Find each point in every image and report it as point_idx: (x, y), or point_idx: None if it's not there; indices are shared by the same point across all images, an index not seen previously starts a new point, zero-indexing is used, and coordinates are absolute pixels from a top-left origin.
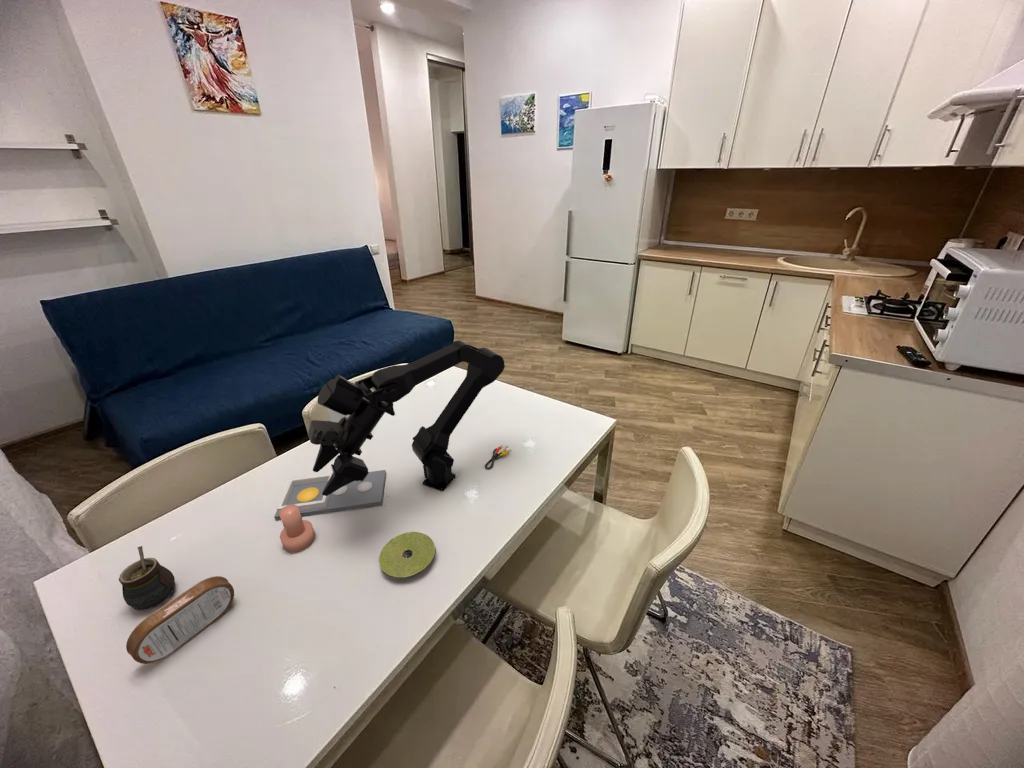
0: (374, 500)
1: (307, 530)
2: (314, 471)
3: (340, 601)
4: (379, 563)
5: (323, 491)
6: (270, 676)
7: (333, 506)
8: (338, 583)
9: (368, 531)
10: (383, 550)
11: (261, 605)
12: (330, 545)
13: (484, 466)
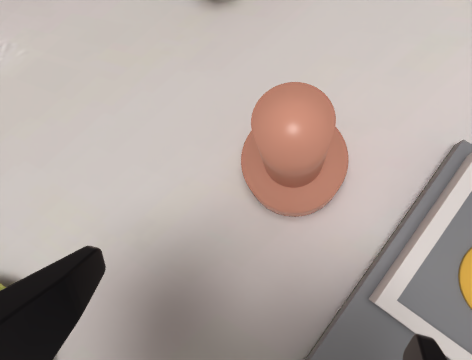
0: None
1: (266, 187)
2: (411, 340)
3: (36, 168)
4: (2, 285)
5: (72, 258)
6: (20, 23)
7: (350, 321)
8: (77, 186)
9: (160, 342)
10: None
11: (165, 41)
12: (203, 227)
13: None
